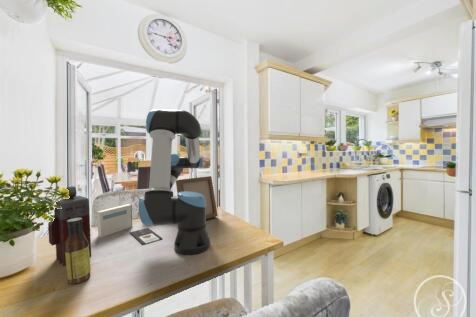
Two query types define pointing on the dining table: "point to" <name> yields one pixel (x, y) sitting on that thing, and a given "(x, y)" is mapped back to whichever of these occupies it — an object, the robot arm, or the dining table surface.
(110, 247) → the dining table surface
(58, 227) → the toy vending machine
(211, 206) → the photo frame
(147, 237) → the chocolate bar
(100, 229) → the white slotted box
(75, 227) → the sauce bottle
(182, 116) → the robot arm
